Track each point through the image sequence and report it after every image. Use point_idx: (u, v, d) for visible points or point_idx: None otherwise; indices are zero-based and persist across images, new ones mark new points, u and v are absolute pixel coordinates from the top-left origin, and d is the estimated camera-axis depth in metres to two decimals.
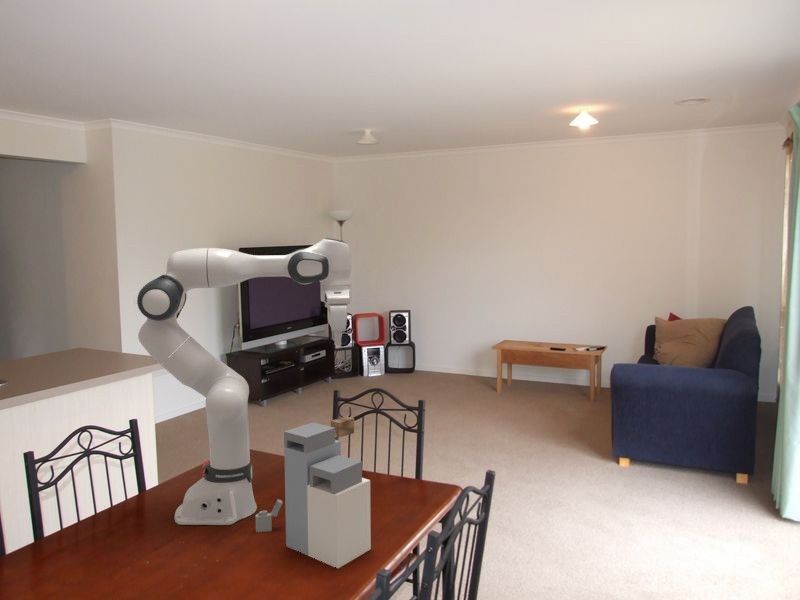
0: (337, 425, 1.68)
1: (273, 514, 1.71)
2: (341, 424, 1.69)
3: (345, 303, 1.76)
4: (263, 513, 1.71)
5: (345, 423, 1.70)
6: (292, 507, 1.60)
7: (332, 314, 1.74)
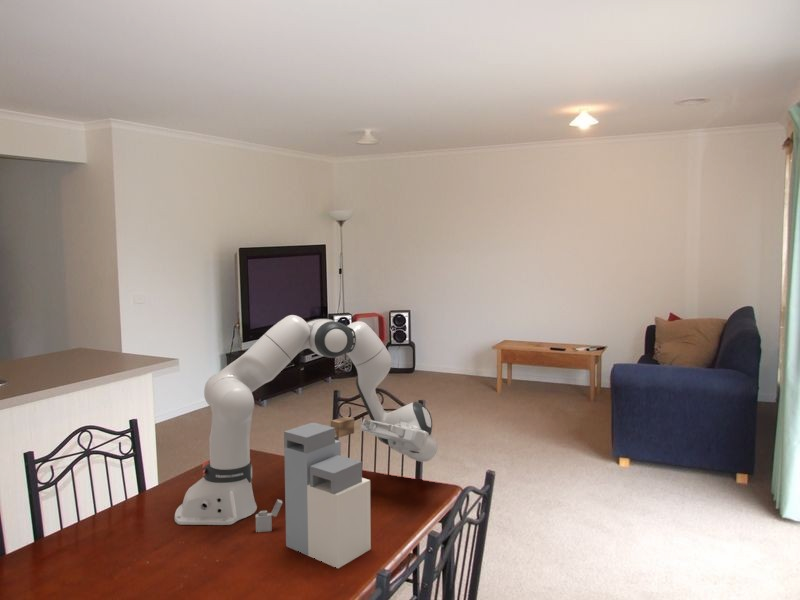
0: (337, 425, 1.68)
1: (273, 514, 1.71)
2: (341, 424, 1.69)
3: (420, 448, 1.86)
4: (263, 513, 1.71)
5: (345, 423, 1.70)
6: (292, 507, 1.60)
7: (423, 433, 1.84)
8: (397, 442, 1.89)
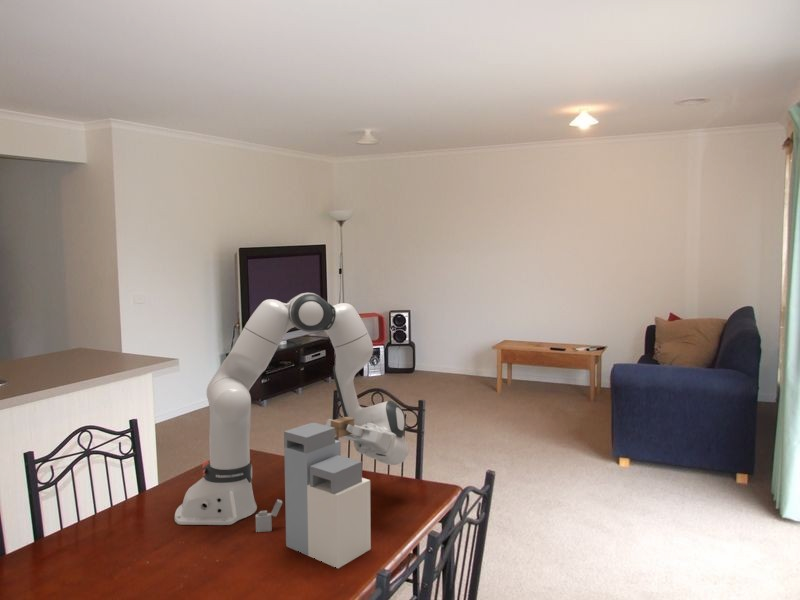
0: (337, 425, 1.68)
1: (273, 514, 1.71)
2: (341, 424, 1.69)
3: (387, 450, 1.74)
4: (263, 513, 1.71)
5: (345, 423, 1.70)
6: (292, 507, 1.60)
7: (389, 435, 1.72)
8: (363, 444, 1.77)
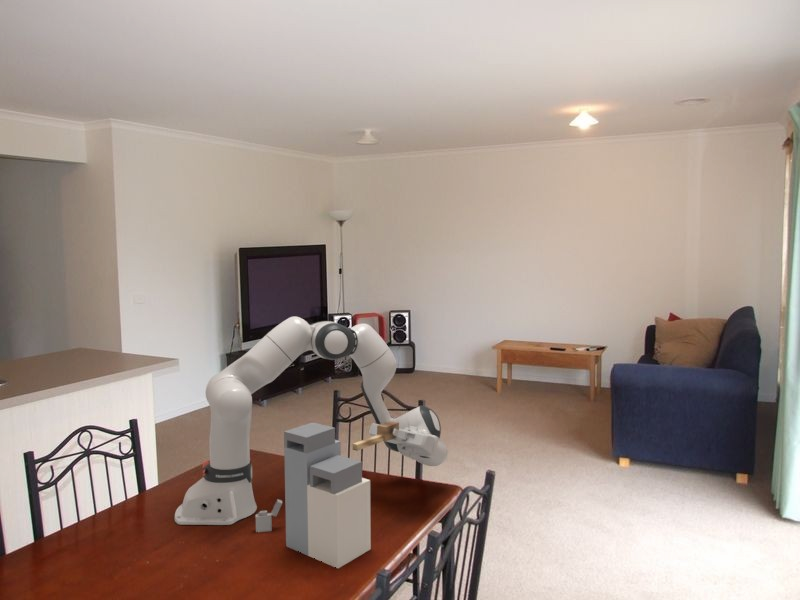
0: (383, 430, 1.76)
1: (273, 514, 1.71)
2: (387, 428, 1.76)
3: (431, 453, 1.81)
4: (263, 513, 1.71)
5: (391, 427, 1.77)
6: (292, 507, 1.60)
7: (433, 438, 1.80)
8: (406, 447, 1.85)
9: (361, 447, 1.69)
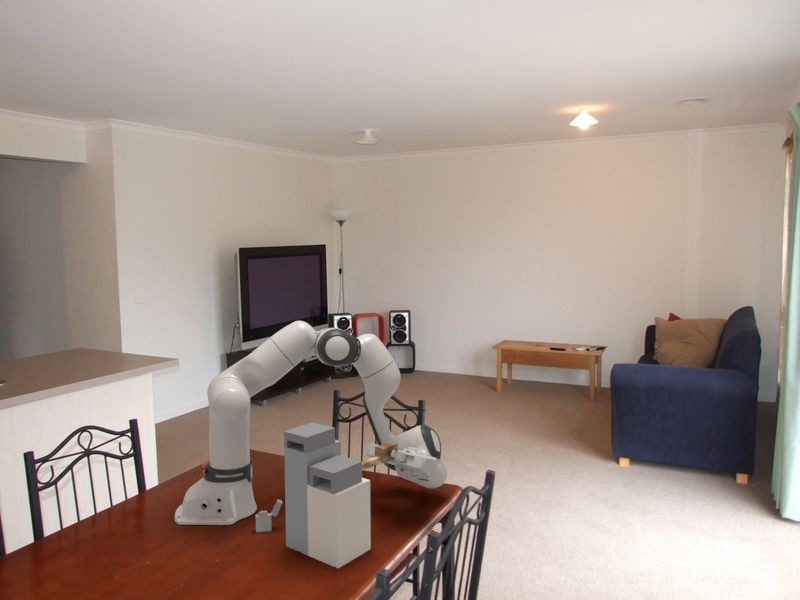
0: (381, 451, 1.69)
1: (273, 514, 1.71)
2: (385, 450, 1.70)
3: (430, 475, 1.75)
4: (263, 513, 1.71)
5: (389, 449, 1.71)
6: (292, 507, 1.60)
7: (433, 461, 1.73)
8: (405, 469, 1.78)
9: None
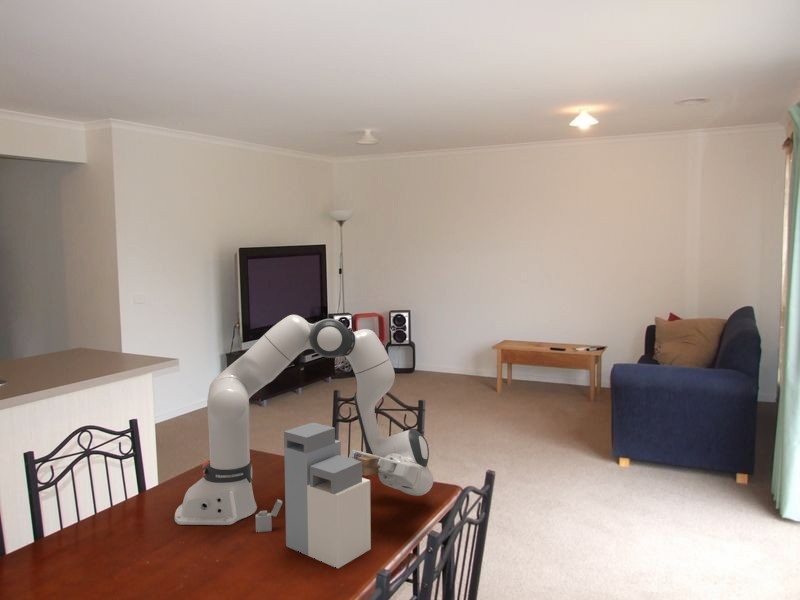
0: (363, 463, 1.64)
1: (273, 514, 1.71)
2: (368, 462, 1.64)
3: (414, 483, 1.69)
4: (263, 513, 1.71)
5: (372, 461, 1.66)
6: (292, 507, 1.60)
7: (416, 468, 1.67)
8: (388, 476, 1.72)
9: None
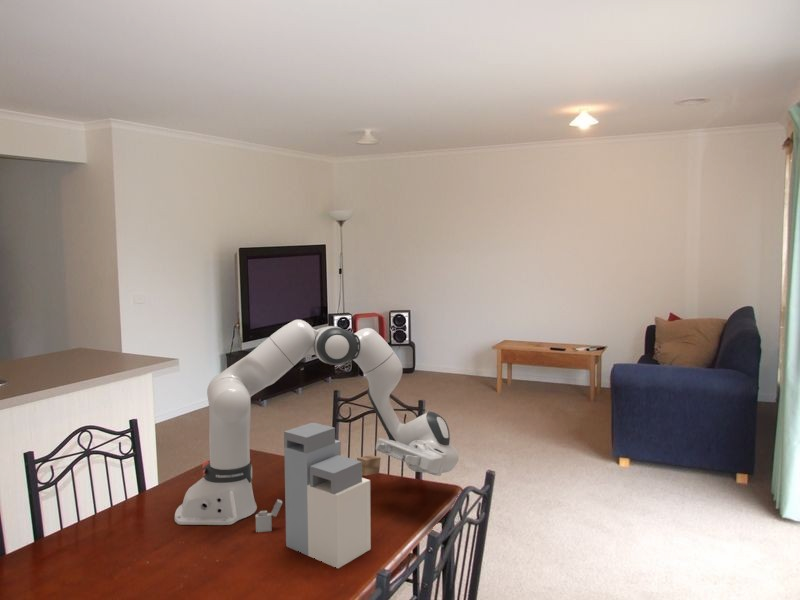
0: (363, 463, 1.64)
1: (273, 514, 1.71)
2: (368, 462, 1.64)
3: (438, 471, 1.78)
4: (263, 513, 1.71)
5: (372, 461, 1.66)
6: (292, 507, 1.60)
7: (440, 459, 1.75)
8: None
9: None
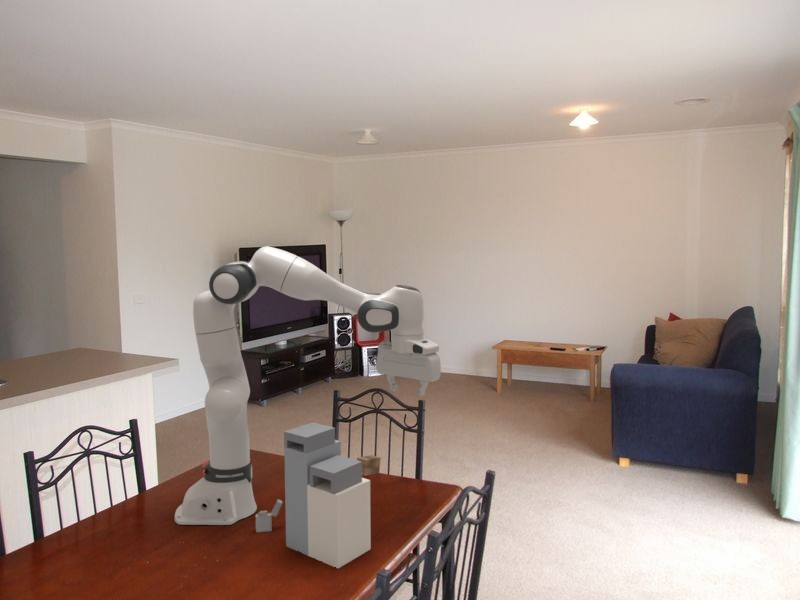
0: (363, 463, 1.64)
1: (273, 514, 1.71)
2: (368, 462, 1.64)
3: None
4: (263, 513, 1.71)
5: (372, 461, 1.66)
6: (292, 507, 1.60)
7: (432, 364, 1.70)
8: None
9: None
